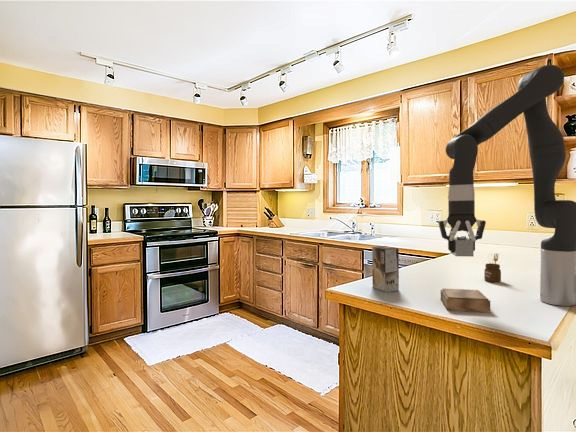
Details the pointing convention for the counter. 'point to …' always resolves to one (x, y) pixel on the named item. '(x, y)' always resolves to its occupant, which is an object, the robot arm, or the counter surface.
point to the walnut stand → (465, 300)
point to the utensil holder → (492, 271)
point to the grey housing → (463, 246)
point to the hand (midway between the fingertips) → (461, 252)
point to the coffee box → (385, 268)
